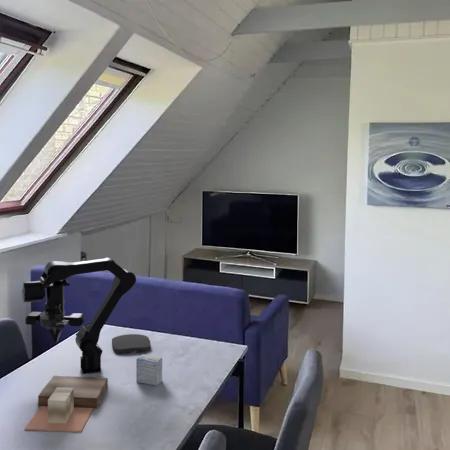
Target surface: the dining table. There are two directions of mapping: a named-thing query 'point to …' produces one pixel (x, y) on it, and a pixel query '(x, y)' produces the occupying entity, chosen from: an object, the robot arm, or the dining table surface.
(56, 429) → the terracotta mat
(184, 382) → the dining table surface
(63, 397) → the birch block
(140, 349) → the media streaming box
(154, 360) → the medicine box
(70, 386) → the oak plinth
